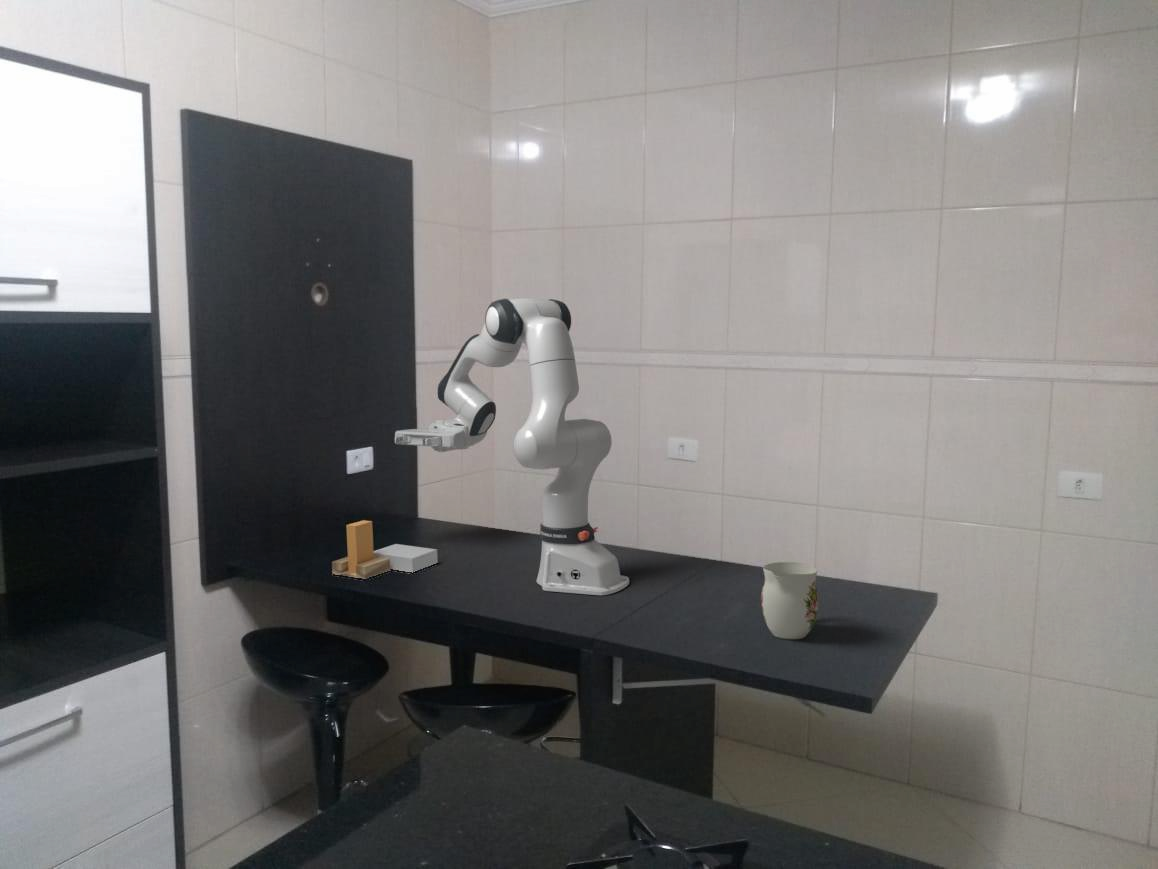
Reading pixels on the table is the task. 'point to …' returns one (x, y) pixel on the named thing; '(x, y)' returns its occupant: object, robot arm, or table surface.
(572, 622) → the table surface
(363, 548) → the orange rectangular block
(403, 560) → the block
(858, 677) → the table surface
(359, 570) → the rack
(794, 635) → the pitcher
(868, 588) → the table surface
